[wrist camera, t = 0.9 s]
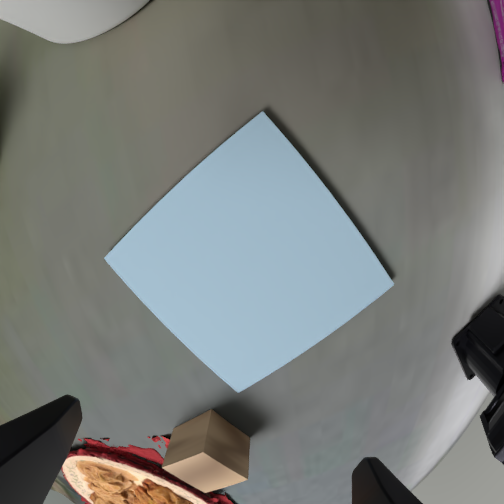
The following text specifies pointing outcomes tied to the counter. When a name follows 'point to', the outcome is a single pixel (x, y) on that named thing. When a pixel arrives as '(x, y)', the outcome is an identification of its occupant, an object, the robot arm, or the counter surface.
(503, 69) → the candy bar box
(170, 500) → the plate with food
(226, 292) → the rubber mat
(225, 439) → the tan cube
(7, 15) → the cylinder vase
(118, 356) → the counter surface
